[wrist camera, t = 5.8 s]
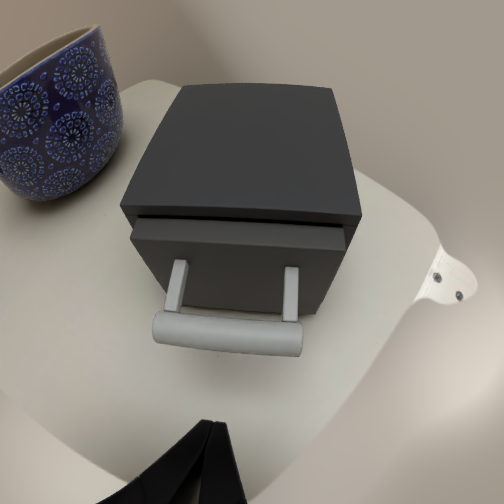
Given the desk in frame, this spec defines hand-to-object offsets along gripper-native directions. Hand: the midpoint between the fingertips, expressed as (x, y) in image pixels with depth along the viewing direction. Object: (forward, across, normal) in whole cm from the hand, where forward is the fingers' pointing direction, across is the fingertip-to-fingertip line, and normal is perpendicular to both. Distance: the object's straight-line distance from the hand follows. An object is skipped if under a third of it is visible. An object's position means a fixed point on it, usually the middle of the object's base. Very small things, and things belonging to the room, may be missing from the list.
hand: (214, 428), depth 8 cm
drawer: (+12, 0, -2) cm, 13 cm away
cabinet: (+16, 0, -4) cm, 16 cm away
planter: (+22, +22, -10) cm, 33 cm away
